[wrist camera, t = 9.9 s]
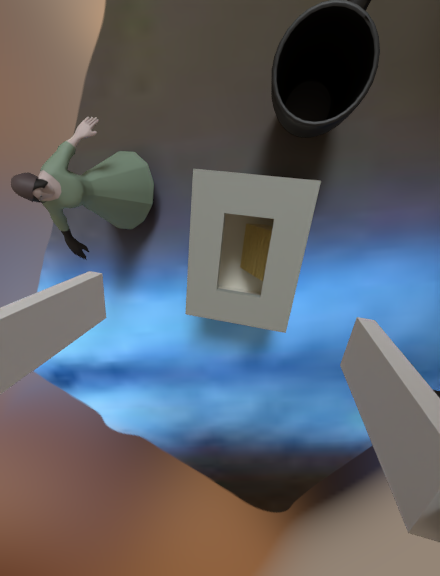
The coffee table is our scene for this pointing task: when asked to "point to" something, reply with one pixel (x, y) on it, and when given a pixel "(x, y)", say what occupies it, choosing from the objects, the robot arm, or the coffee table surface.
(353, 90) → the mug
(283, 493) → the coffee table surface
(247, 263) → the tall tan block
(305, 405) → the coffee table surface
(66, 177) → the character figurine
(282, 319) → the box
